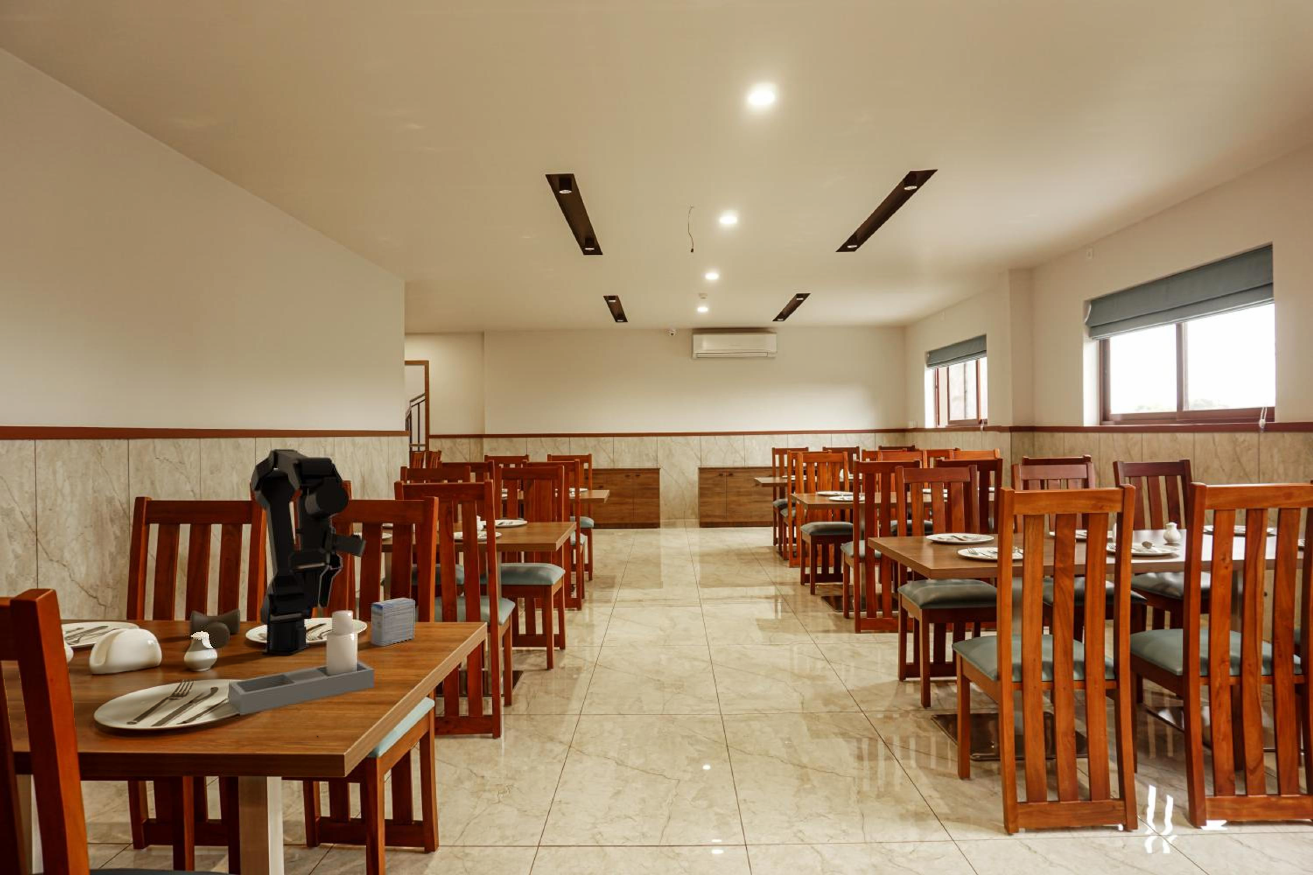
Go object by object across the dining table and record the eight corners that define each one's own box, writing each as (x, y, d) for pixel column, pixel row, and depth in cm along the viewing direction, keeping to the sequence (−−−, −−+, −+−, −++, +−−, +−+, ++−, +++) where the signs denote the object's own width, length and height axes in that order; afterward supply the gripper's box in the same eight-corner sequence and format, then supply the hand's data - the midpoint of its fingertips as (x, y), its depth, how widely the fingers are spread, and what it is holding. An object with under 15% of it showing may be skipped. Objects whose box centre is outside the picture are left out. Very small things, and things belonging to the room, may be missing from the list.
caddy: (228, 705, 115) (228, 682, 115) (356, 679, 129) (357, 659, 129) (240, 718, 109) (240, 694, 109) (373, 690, 123) (374, 669, 123)
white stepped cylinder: (320, 690, 121) (321, 615, 121) (336, 681, 126) (337, 609, 126) (347, 691, 120) (348, 615, 121) (362, 682, 125) (363, 609, 125)
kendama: (187, 655, 147) (189, 631, 164) (241, 649, 152) (238, 627, 169) (188, 625, 147) (191, 605, 164) (243, 621, 152) (240, 602, 169)
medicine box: (402, 636, 160) (403, 597, 160) (414, 639, 157) (415, 599, 158) (370, 643, 154) (370, 602, 154) (382, 647, 151) (383, 605, 151)
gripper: (353, 511, 129) (359, 600, 126) (367, 522, 147) (372, 600, 144) (285, 519, 126) (289, 610, 123) (307, 529, 144) (311, 609, 141)
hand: (319, 607), depth 133 cm, fingers open, 9 cm apart
